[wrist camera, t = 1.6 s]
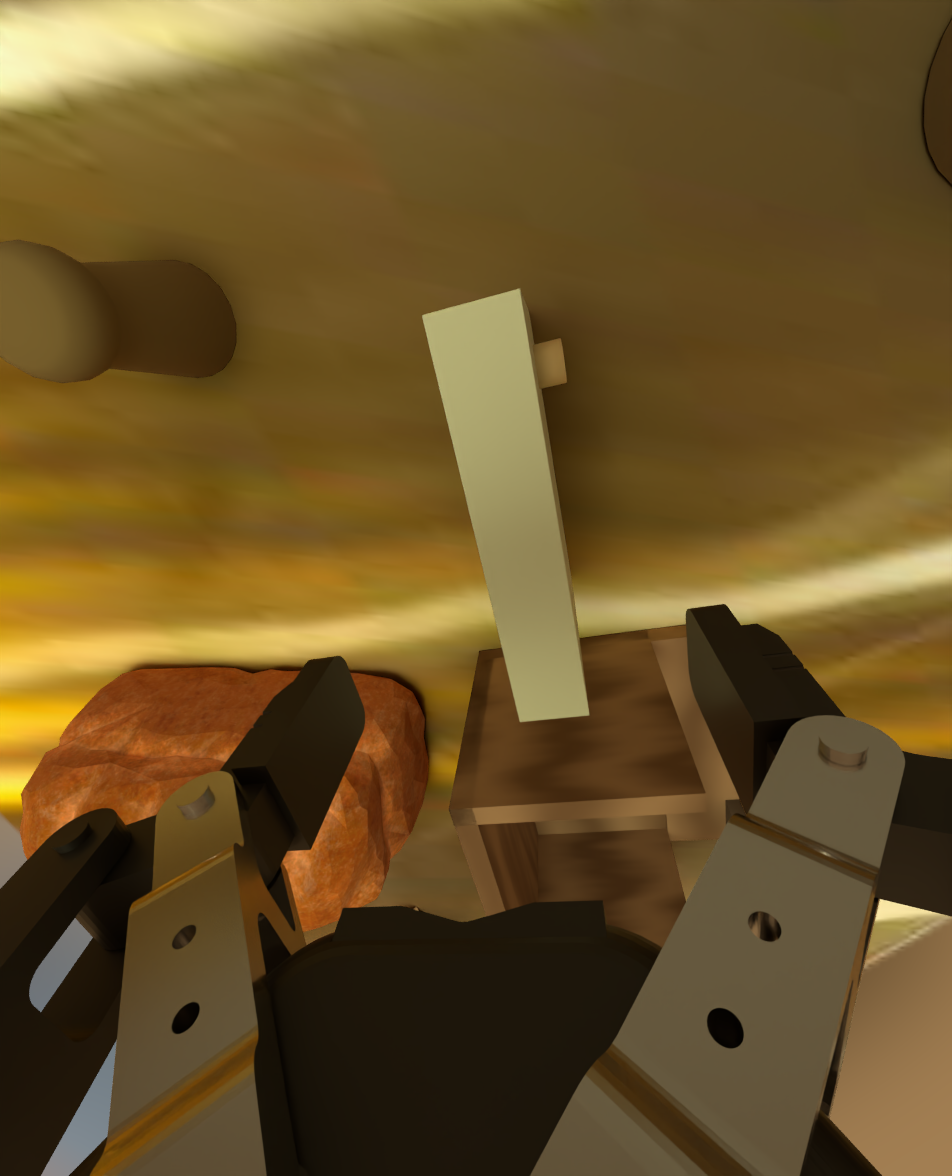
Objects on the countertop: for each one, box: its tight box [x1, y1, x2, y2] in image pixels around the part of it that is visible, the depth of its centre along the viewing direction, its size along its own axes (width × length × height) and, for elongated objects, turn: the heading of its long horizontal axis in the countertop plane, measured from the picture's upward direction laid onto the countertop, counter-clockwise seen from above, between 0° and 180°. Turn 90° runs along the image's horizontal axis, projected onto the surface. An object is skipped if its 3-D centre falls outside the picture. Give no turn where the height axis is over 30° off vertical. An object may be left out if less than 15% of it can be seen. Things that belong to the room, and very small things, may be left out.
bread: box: [20, 667, 428, 932], centre depth 36 cm, size 14×26×16 cm, turn 93°
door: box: [422, 289, 589, 722], centre depth 24 cm, size 4×16×14 cm, turn 13°
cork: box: [0, 240, 236, 383], centre depth 24 cm, size 6×6×11 cm
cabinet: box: [449, 625, 746, 948], centre depth 33 cm, size 18×20×14 cm
